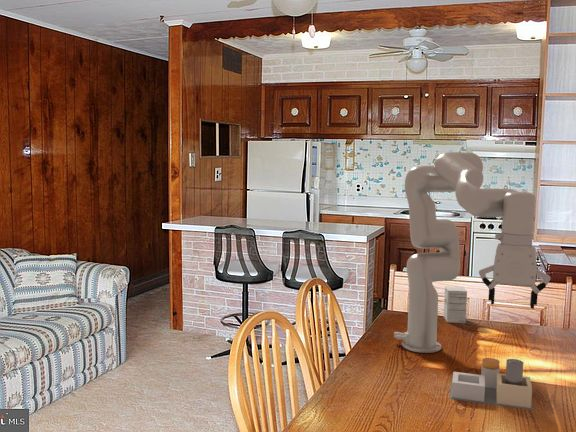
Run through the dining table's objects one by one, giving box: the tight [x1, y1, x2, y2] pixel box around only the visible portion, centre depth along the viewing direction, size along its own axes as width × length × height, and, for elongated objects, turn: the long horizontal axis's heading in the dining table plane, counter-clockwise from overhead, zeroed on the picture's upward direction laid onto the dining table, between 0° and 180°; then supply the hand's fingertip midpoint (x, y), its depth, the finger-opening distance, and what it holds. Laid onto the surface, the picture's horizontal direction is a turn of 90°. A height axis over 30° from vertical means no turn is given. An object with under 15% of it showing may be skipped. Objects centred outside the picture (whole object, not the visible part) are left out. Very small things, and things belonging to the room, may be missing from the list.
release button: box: [481, 357, 500, 369], centre depth 161 cm, size 4×4×6 cm
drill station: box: [448, 365, 534, 411], centre depth 156 cm, size 20×16×6 cm
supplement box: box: [443, 286, 468, 324], centre depth 229 cm, size 7×7×13 cm
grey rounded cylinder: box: [505, 358, 524, 386], centre depth 151 cm, size 4×4×10 cm
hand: (511, 305), depth 153 cm, fingers open, 9 cm apart
